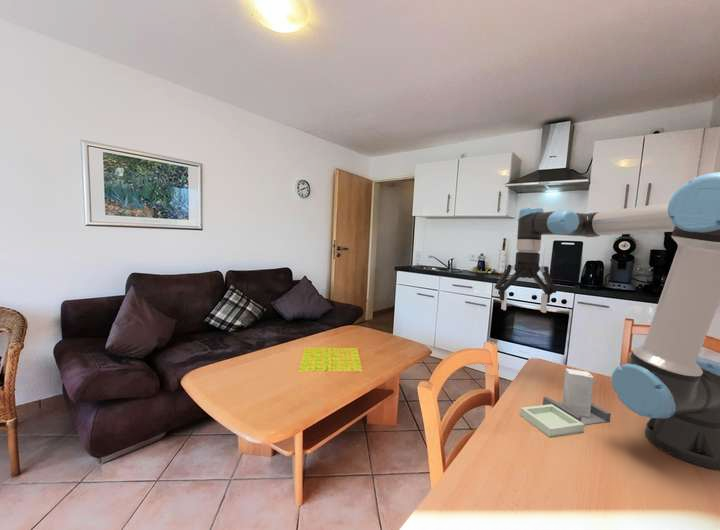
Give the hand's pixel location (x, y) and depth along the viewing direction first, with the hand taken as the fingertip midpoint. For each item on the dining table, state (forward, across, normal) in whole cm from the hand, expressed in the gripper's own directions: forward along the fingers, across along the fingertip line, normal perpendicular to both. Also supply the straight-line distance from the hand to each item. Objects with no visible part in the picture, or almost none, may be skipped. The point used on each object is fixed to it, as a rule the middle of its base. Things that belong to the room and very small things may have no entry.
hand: (523, 310), depth 111 cm
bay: (+25, -8, +22) cm, 34 cm away
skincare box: (+25, -8, +22) cm, 34 cm away
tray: (+25, +2, +29) cm, 38 cm away
